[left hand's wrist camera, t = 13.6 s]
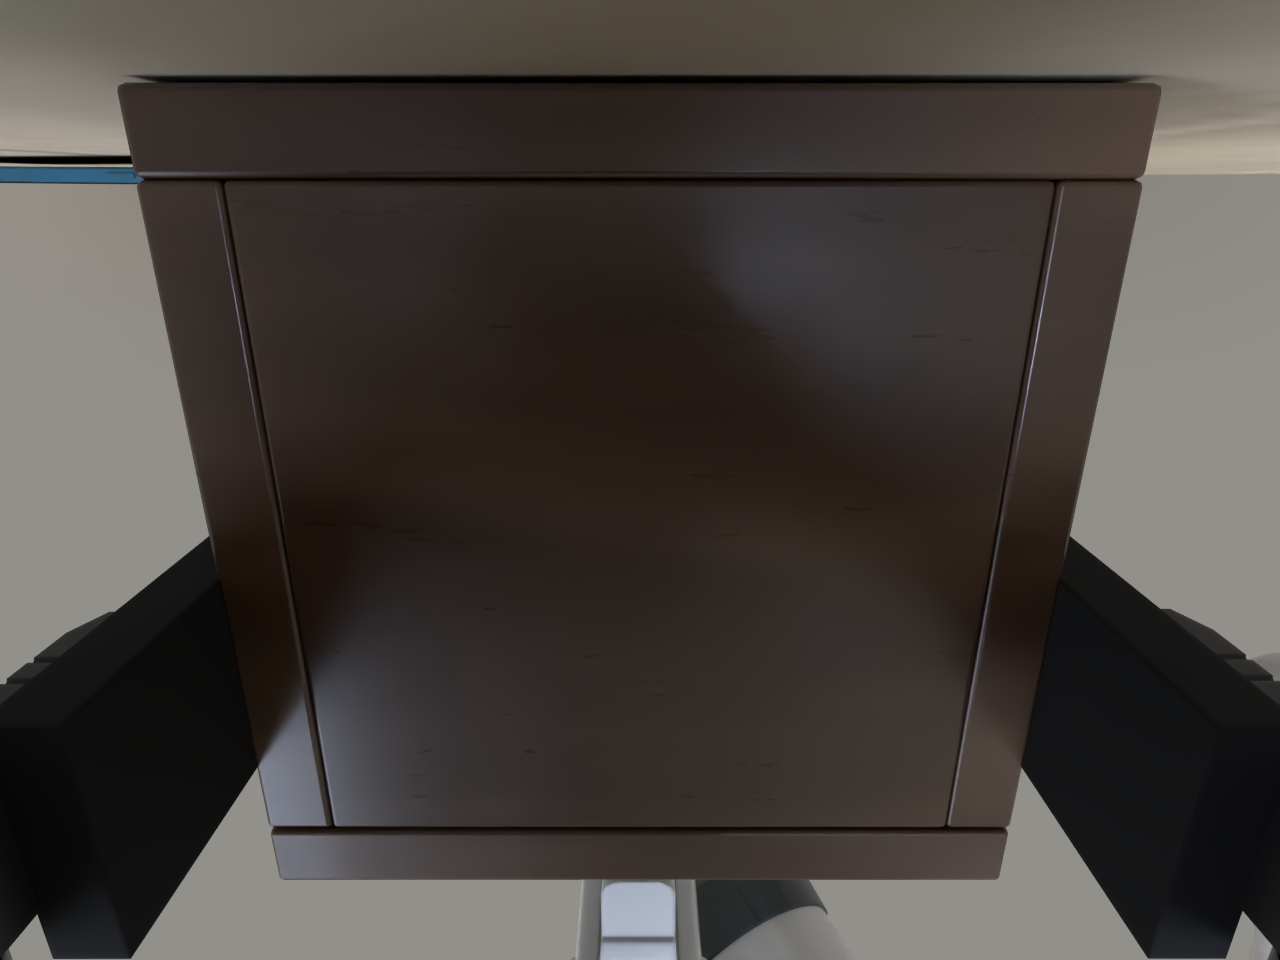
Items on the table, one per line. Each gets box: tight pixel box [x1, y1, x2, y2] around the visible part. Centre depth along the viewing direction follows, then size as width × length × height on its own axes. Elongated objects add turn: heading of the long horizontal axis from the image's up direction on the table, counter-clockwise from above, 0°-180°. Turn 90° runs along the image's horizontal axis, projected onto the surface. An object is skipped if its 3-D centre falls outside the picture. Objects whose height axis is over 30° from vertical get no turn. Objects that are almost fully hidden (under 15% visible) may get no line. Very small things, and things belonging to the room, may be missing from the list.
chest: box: [118, 83, 1161, 827], centre depth 15 cm, size 13×10×9 cm
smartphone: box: [0, 166, 145, 184], centre depth 28 cm, size 8×1×15 cm
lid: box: [271, 823, 1008, 880], centre depth 18 cm, size 14×10×8 cm
